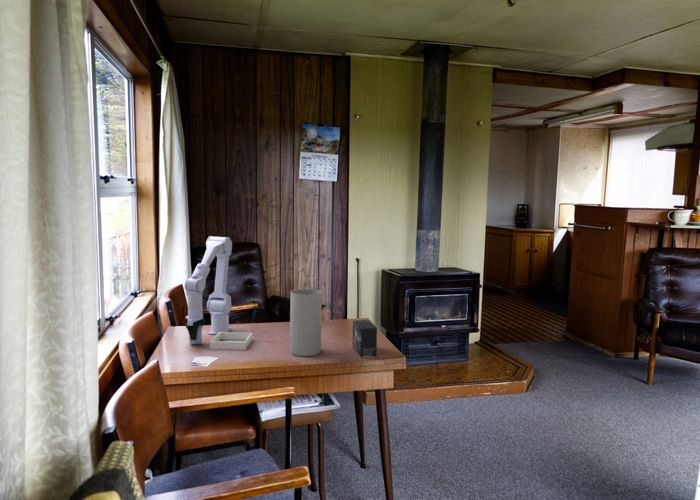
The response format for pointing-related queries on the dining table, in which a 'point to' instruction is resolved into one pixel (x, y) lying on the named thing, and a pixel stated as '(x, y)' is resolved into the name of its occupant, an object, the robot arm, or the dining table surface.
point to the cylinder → (199, 337)
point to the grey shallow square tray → (218, 344)
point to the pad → (233, 341)
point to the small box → (365, 338)
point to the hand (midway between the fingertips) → (195, 338)
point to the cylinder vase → (305, 322)
